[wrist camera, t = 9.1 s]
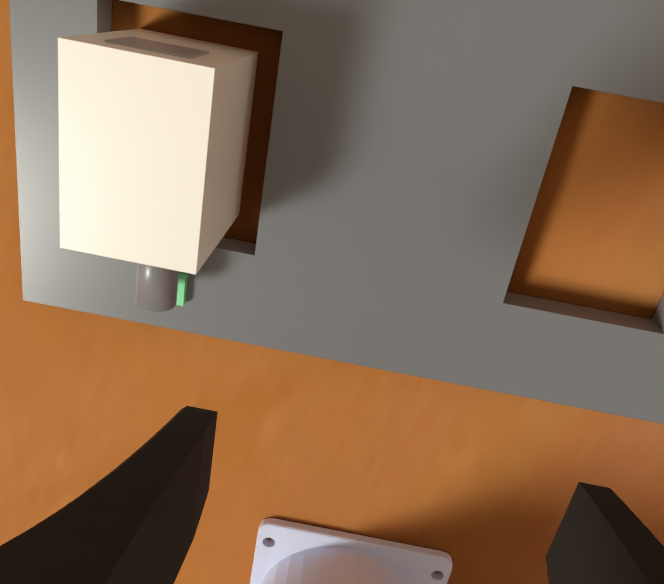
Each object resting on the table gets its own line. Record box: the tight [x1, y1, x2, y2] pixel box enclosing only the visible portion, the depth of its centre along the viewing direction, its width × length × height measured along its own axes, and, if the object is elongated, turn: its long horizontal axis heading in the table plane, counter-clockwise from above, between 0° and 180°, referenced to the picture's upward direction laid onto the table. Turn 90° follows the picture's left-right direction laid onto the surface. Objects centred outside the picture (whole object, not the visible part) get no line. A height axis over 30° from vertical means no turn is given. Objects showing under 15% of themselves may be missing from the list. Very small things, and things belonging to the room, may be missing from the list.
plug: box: [58, 29, 258, 312], centre depth 18 cm, size 7×4×5 cm, turn 170°
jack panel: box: [9, 0, 664, 424], centre depth 19 cm, size 13×24×1 cm, turn 80°
